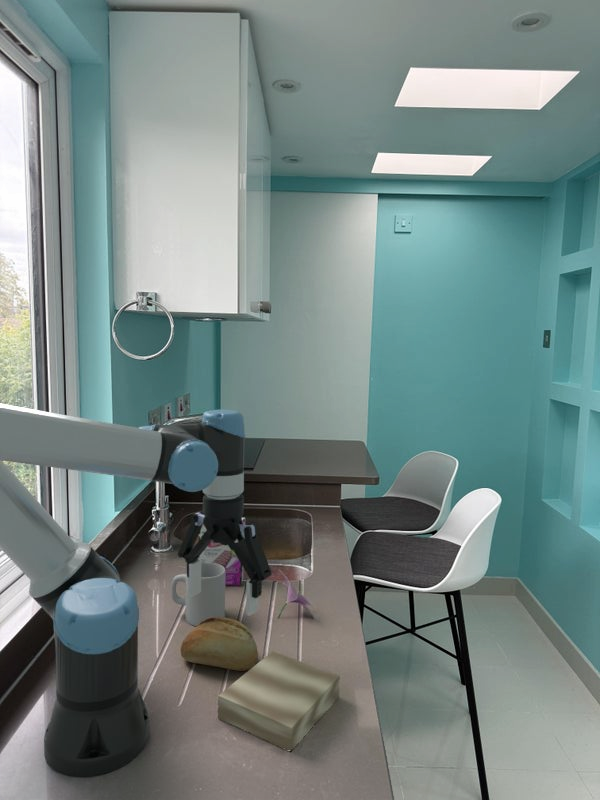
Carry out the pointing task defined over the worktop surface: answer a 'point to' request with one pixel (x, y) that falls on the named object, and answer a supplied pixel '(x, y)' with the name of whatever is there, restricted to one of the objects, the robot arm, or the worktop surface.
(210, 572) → the mug
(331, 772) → the worktop surface
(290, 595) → the lily
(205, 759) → the worktop surface
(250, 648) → the bread roll
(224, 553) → the candy bar box
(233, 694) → the wooden base
